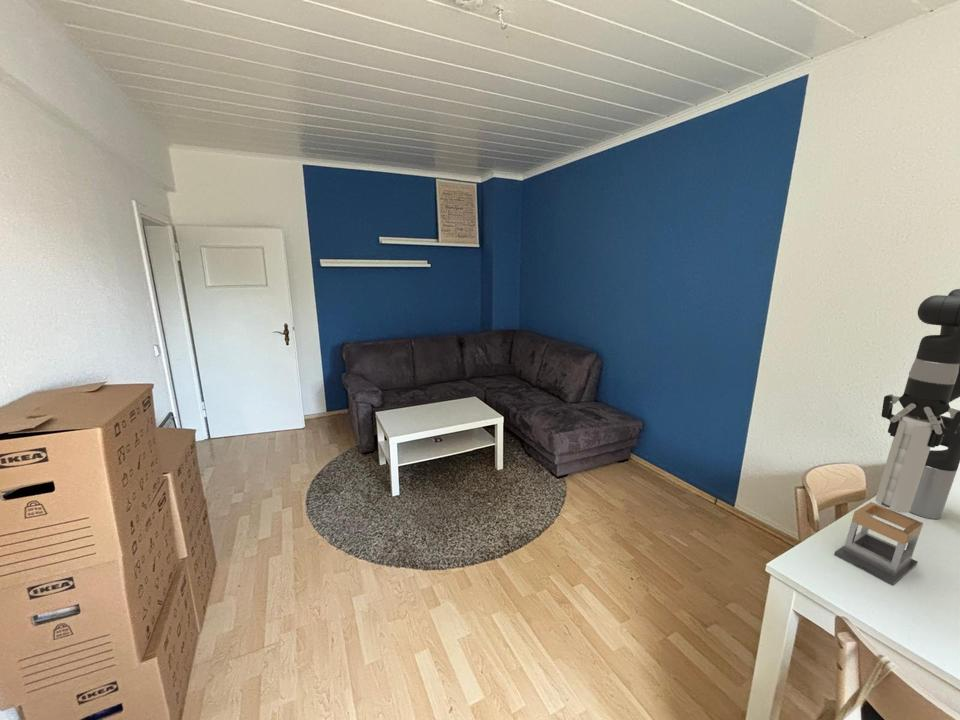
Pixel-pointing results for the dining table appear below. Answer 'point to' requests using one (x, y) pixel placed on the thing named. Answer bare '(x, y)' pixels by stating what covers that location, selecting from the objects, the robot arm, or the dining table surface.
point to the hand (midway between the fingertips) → (912, 440)
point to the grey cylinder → (905, 463)
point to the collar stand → (881, 543)
